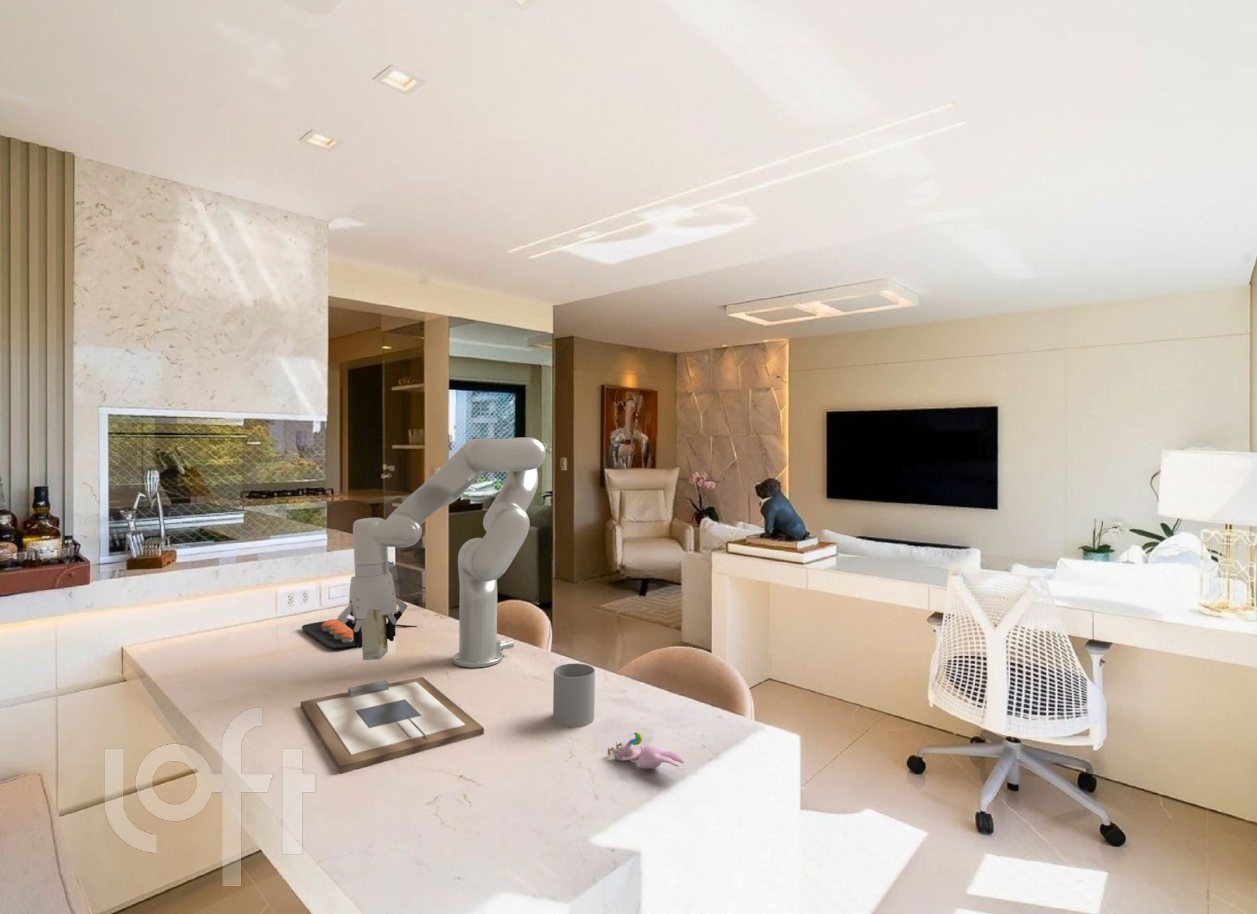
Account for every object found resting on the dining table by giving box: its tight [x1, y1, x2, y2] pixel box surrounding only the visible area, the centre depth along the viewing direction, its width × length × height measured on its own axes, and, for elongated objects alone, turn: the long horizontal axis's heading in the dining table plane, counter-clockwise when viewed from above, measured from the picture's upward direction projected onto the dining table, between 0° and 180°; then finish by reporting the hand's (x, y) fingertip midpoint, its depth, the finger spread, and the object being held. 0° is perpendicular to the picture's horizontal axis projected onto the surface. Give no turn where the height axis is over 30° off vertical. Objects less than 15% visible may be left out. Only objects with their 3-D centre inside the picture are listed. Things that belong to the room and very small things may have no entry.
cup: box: [552, 663, 596, 728], centre depth 133 cm, size 8×8×10 cm
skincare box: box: [361, 608, 389, 661], centre depth 156 cm, size 6×4×12 cm
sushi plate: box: [301, 617, 418, 649], centre depth 193 cm, size 29×30×4 cm
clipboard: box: [300, 676, 485, 774], centre depth 131 cm, size 26×34×3 cm
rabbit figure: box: [607, 732, 685, 770], centre depth 113 cm, size 6×6×15 cm
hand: (374, 642), depth 156 cm, fingers closed on skincare box, 6 cm apart
